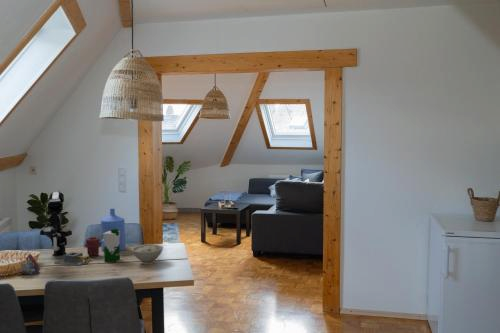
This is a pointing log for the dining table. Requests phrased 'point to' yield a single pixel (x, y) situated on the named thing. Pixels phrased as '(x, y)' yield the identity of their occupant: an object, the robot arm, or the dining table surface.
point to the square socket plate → (74, 259)
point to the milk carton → (111, 245)
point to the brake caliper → (30, 266)
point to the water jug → (114, 227)
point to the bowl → (147, 253)
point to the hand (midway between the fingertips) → (56, 246)
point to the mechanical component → (93, 246)
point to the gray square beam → (55, 244)
